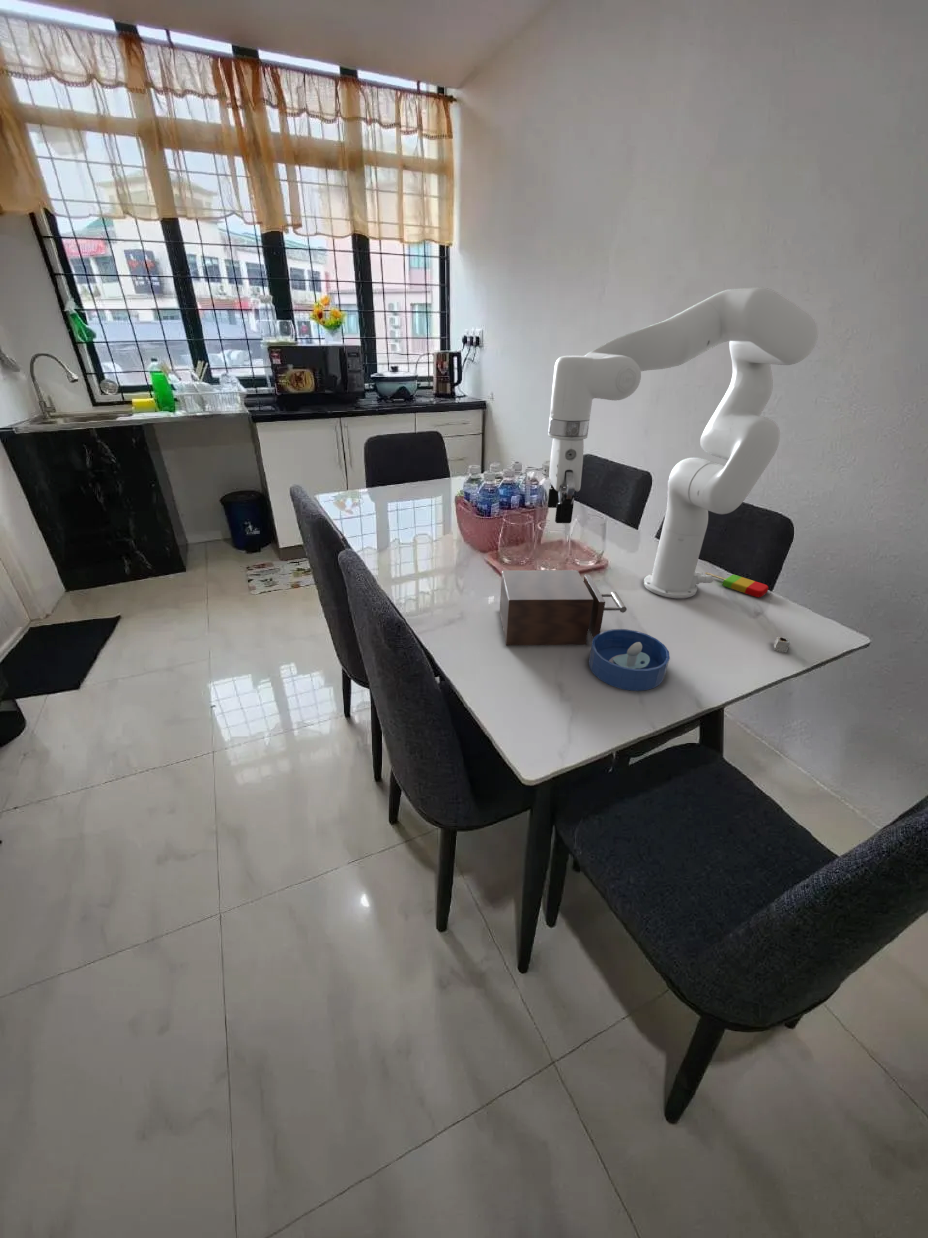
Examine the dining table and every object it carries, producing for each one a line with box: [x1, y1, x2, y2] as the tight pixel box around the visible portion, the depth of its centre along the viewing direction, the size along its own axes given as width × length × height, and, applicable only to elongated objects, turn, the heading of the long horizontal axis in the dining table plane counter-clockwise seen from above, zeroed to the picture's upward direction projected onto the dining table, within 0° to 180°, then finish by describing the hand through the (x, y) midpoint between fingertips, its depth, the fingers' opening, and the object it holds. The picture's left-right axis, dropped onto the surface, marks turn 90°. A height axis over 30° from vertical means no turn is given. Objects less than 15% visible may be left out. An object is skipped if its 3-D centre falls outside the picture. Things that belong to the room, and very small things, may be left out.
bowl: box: [588, 628, 671, 692], centre depth 95 cm, size 14×14×4 cm
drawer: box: [583, 574, 627, 640], centre depth 106 cm, size 21×12×9 cm, turn 92°
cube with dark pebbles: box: [773, 635, 791, 654], centre depth 102 cm, size 2×2×2 cm
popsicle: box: [704, 571, 769, 598], centre depth 128 cm, size 6×15×2 cm, turn 43°
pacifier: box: [609, 642, 650, 669], centre depth 95 cm, size 7×6×6 cm
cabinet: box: [499, 569, 593, 646], centre depth 106 cm, size 17×14×11 cm
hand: (558, 514), depth 105 cm, fingers open, 9 cm apart
